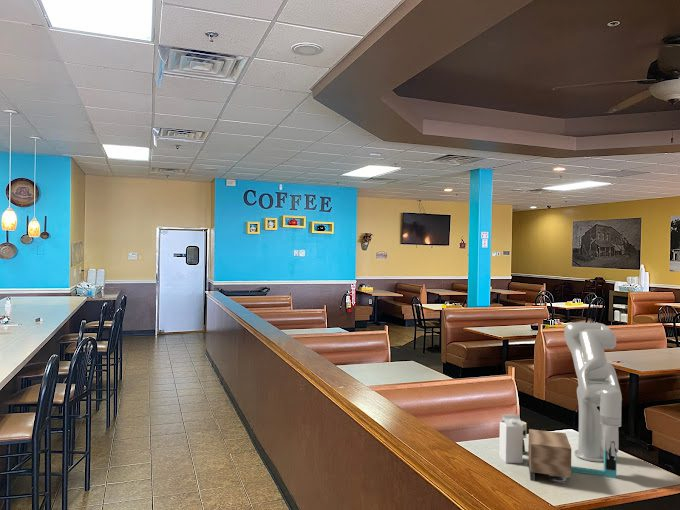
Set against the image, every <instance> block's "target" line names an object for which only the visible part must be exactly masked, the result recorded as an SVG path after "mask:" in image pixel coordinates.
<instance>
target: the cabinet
mask: <svg viewBox="0 0 680 510" xmlns="http://www.w3.org/2000/svg"><path fill="white" fill-rule="evenodd" d="M571 466H572V445H571V444H570V441H569V438H568V436H567V434H566V433H565V432H559V431H558V432H557V431H548V430H541V429H540V430H539V429H532V428H529V429H528V473H529V479H530V481H533V482H535V480H536V479H535V478H536V476H535V475H536V474H535V473H537V474H544V475H548V476H549V475H557V476H564V477H566V478H572V471H571Z"/></svg>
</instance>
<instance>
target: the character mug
mask: <svg viewBox="0 0 680 510" xmlns="http://www.w3.org/2000/svg"><path fill="white" fill-rule="evenodd" d="M521 423H522V425H523V450H522V454H524V453H526V448H525V447H526V445H525V440H524V439H526V438H527V430H528V429H527V422H525V421H523V420H521Z"/></svg>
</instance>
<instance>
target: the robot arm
mask: <svg viewBox="0 0 680 510" xmlns="http://www.w3.org/2000/svg"><path fill="white" fill-rule="evenodd" d="M563 333H564V334H563V335H564V340H565V344H566V346H567V347H568V349H569V351H570V353H571V356H572V360H573V361H572V362H573V366H574V370H575V371H574V372H575V374H576V377H577V385H578V386H577V387H576V397H577V404H578V405H577V406H578V448H577V449H575V450H574V456H575V457H577V458H579V459H582V460H584V461H588V462H599V463H601V462H604V451H605V452H606V451H607V459H606V469H608V470H616V471H617V466H616V456H615V452H616V453H619V444H620V443H619V440H620V439H619V438H620V437H619V434H620V433H619V428H620V427H622V401H623V398H622V391H621V386H620V384H619V380H618V375H617V373H616V369H615V367H614V365H613V364H611V362H608V360H607V357H606V353H605V349H606V350H613V349H614V348H615V347H616V345H617V337H616V335H615V333H614V331H613V330H612V329H611V328H610V327H608V326H607V325H606V324H604V323H600V322H580V321H575V322H569V323H568V324H566V325H565V327H564V331H563ZM598 407H599V409H598ZM609 450H611V451H609ZM609 453H611V454H609Z"/></svg>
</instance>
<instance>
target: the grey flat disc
mask: <svg viewBox="0 0 680 510" xmlns="http://www.w3.org/2000/svg"><path fill="white" fill-rule="evenodd" d="M548 479H549V480H550V481H552V482H554V483H560V484H563V483H564V484H565V483H566V482H567V477H564V476H557V475H549V474H548Z"/></svg>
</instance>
